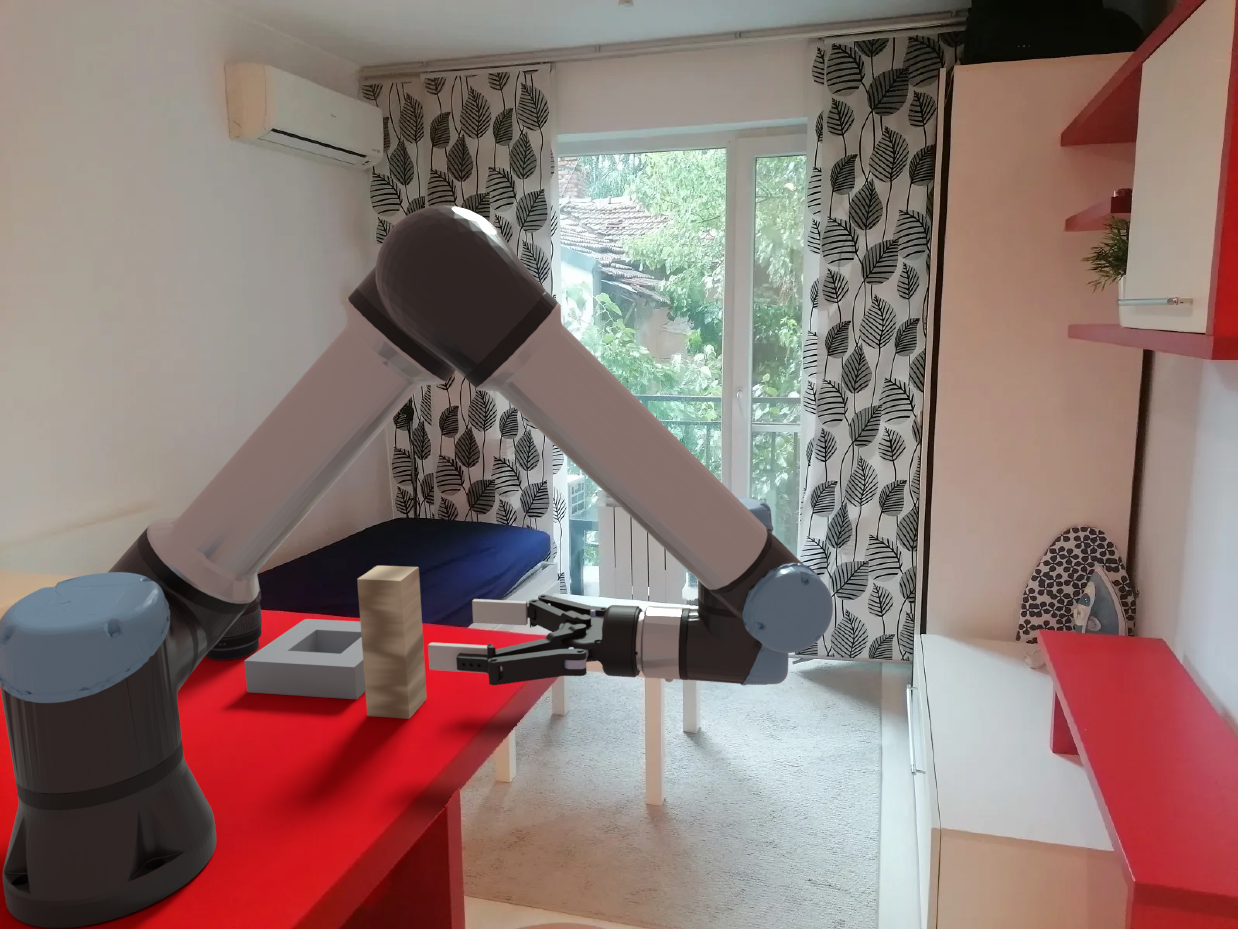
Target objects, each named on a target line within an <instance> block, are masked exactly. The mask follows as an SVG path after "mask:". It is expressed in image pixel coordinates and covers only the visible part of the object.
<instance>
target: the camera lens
mask: <svg viewBox="0 0 1238 929" xmlns="http://www.w3.org/2000/svg"><path fill="white" fill-rule="evenodd" d="M257 577H258V578H259V576H258V573H257ZM261 600H262V591H261V587H259V592H258V595H257V597H256V598H255V599H254V600H253V601H252V602H251V604H250V605H249V606H248V607H247V608H246V610H245V611H244V612H243V613H242V614H241V615H240V616H239V618H238V619H237V620H236V621H235V622H234V623H233V624H232V626H231V627H230V628H229V629H228V630H227V631H226V632H225V634H224V635H223V636H222V638H221V639H220V640H219V641H218V643H217V644H216V645H215V646H214V647H213V648H212V649H211V650H210V651H209V652H208V653H207V654H206V655H205V657H206V658H208V659H210V660H216V661H229V660H235V659H236V660H237V659H240V658H244V657H247V656H249V655H253V653H256V652H257V651H258V650H259V647H260V640H259V639H260V638H261V637H262V634H263V633H262V624H263V618H262V609H261V605H260V601H261Z"/></svg>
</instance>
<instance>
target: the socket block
mask: <svg viewBox="0 0 1238 929" xmlns="http://www.w3.org/2000/svg"><path fill="white" fill-rule="evenodd" d="M243 661H244V670H245V671H244V672H245V682H246V692H247V693H256V694H270V695H287V696H301V697H313V698H314V697H316V698H327V699H329V698H332V699H333V698H334V699H345V700H346V699H347V700H358V699H359V698H361V696H362V695H363V694H364V693H366V691H365V677H364V664H363V650H362V637H361V623H360V621H357V620H356V621H355V620H336V619H335V620H334V619H333V620H331V619H318V618H317V619H314V618H313V619H312V618H305V619H303V620H301V621H300V622H299V623H296V625H294V626H293V627H291V628H290V629H288V630H287V631H285V632H283V634H281V635H279V636H278V637H277V638H275V639H274V640H272V641H271V642H270V643H268V644H267V645H265V646H264V647H262V648H261V649H258V650H257V651H255V652H254V654H253V653H252V654H251V655H250V656H249V657H247V658H246V659H245V660H243Z"/></svg>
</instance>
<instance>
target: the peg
mask: <svg viewBox="0 0 1238 929" xmlns="http://www.w3.org/2000/svg"><path fill="white" fill-rule="evenodd" d="M419 567H420V566H399V565H376V566H373V567H372V569H370V570H367V572H366V573H364V574H363V575H361V576H359V577H358V578H357V579H356V580H357V594H358V609H359V619H360V620H359V622H360V623H361V637H362V650H363V664H364V677H365V699H366V700H365V702H366V716H367V717H378V718H379V717H381V718H392V719H393V718H395V719H405V720H406V719H410V718H412V716H413V715H414V714H415V713H416V712H417V710H419V709H420V707H421V706H422V705H423V704H424V702H426V700H427V698H428V697H427V682H426V680H427V679H426V669H425V668H426V666H425V651H424V650H425V649H424V648H425V647H424V632H423V630H424V629H423V620H422V619H423V618H422V603H421V602H422V601H421V600H422V597H421V582H420V568H419Z"/></svg>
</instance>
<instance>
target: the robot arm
mask: <svg viewBox="0 0 1238 929" xmlns="http://www.w3.org/2000/svg"><path fill="white" fill-rule="evenodd" d="M382 241H383V242H382V244H381V246H380V248H379V249H378V250H379V251H378V254H377V257H376V265H375V266H374V267H373V268H372V269H371V270H370V271H369V273H368V274H367V275H366V277H364V278H363V279H362V281H361V282H360V283H359V284H358V285H357V287H356V288H355V289H354V290H353V291H352V293H351V294H350V295H349V296H348V297H347V298H346V300H345V308H346V318H347V321H346V326H345V327H344V328H343V329H342V331H341V332H340V333H339V334H338V335H337V337H335V339H333V341H332V342H331V344H330V345H328V347H327V348H326V349H325V350H324V351H323V352H322V353H321V355H320V356H319V357H318V358H317V359H316V360H315V361H314V362H313V364H312V365H311V366H310V367H309V368H308V370H306V372H305V373H304V374H303V375H302V376H301V378H299V380H298V381H297V382H296V383H295V384H294V386H292V388H291V389H290V390H289V391H288V392H287V393H286V395H285V396H283V398H282V399H281V400H280V401H279V402H278V404H277V405H275V407H274V408H273V409H272V410H271V412H269V414H267V416H266V417H265V418H264V419H263V421H262V422H260V424H259V425H258V427H256V429H255V430H254V431H253V432H252V433H251V434H250V436H249V437H248V438H247V440H246V441H245V442H243V444H242V445H241V446H240V447H239V448H238V450H237V451H236V452H235V453H234V454H233V455H232V456H231V457H230V459H229V460H228V461H227V462H226V463H225V464H224V466H222V468H221V469H220V470H219V471H218V473H216V475H214V477H213V478H212V479H211V480H210V481H209V483H208V484H207V485H206V486H205V487H204V488H203V489H202V491H201V492H200V493H198V495H197V496H196V498H194V500H193V501H192V502H191V503H190V504H189V506H188V507H186V509H185V510H184V512H182V513H181V514H180V515H178V516H172V517H169V516H168V517H160V518H156V519H154V520H153V521H152V522H151V523H150V524H149V525H147V528H145V529H144V531H143V532H142V533H141V534H140V535H139V536H138V538H136V540H135V541H134V542H133V543H132V544H131V546H130V547H129V548H128V549H127V550H126V551H125V552H124V553H123V555H122V556H121V557H120V558H119V559H118V560H117V561H116V563H114V564H113V566H112V567H111V568H110V569H109V570H107V572H99V573H92V574H86V575H81V576H77V577H72V578H68V579H65V580H62V581H58V582H57V583H56V585H55V586H49V587H42V588H41V587H40V589H37V590H34V591H33V592H30V593H29V594H27V595H25V596H24V597H22V598H21V599H19V600H18V601H17V602H15V603H13V604H12V605H11V606H10V607H9V608H8V609H7V610H6V611H5V612H4V613H3V615H2V616H1V618H0V695H1V701H2V708H3V712H4V718H5V724H6V726H5V727H6V732H7V738H8V742H9V750H10V757H11V761H12V766H13V767H12V768H13V769H12V770H13V774H14V779H15V786H16V793H17V799H18V806H17V808H16V810H17V811H16V814H15V818H14V823H13V827H12V832H11V834H10V839H9V843H8V847H7V852H6V856H5V861H4V864H3V868H2V886H3V891H4V892H3V893H4V898H5V906H6V908H7V910H8V912H9V913H10V914H11V916H13V917H14V918H15V919H16V920H18V921H20V922H22V923H24V924H27V925H31V926H34V927H39V928H40V927H41V928H45V929H47V928H48V929H49V928H50V929H65V928H66V929H67V928H69V929H70V928H76V927H77V928H78V927H86V926H90V925H96V924H100V923H104V922H108V921H111V920H115V919H118V918H122V917H124V916H127V915H131V914H132V913H136V912H137V911H141V910H143V909H145V908H147V907H149V906H151V905H153V904H155V903H157V902H159V901H161V900H163V899H165V898H166V897H169V896H170V895H171V894H173V893H175V892H176V891H178V890H180V889H182V887H184V886H185V885H186V884H188V883H189V882H190V881H191V880H192V879H194V878H195V877H196V876H197V875H198V874H199V873H200V872H201V871H202V870H203V869H204V868H205V866H206V865H207V864H208V863H209V861H210V859H211V858H212V857H213V855H214V852H215V850H216V847H217V831H216V824H215V822H216V821H215V817H214V816H215V814H214V813H213V809H212V807H211V805H210V803H209V802H208V799H207V798H206V797H205V794H204V793H203V791H202V789H201V787H200V784H199V783H198V781H197V779H196V778H195V776H194V774H193V772H192V770H191V768H190V767H189V765H188V764H187V762H186V759H185V755H184V746H183V738H182V730H181V728H182V727H181V721H180V711H179V702H178V693H179V691H180V690H181V687H182V686H183V685H185V683H186V681H187V680H188V679H189V677H190V676H191V674H192V673H193V672H194V670H196V669H197V667H198V665H199V664H200V663H201V661H202V660H203V659H204V658H205V657H206V654H207V653H208V652H209V651H210V650H211V649H212V648H213V647H214V646H215V645H216V644H217V643H218V641H219V640H220V639H221V638H222V636H223V635H224V634H225V632H226V631H227V630H228V629H229V628H230V627H231V626H232V624H233V623H234V622H235V621H236V620H237V619H238V618H239V616H240V615H241V614H242V613H243V612H244V611H245V610H246V608H247V607H248V606H249V605H250V604H251V602H252V601H253V600H254V599H255V598H256V597H257V595H258V592H259V588H260V584H259V576H258V577H257V574H258V572H259V571H260V569H261V568H262V567H263V566H264V565H265V563H266V562H267V561H268V560H269V559H270V557H272V555H274V553H275V552H276V551H277V550H278V549H279V547H280V546H281V545H282V544H283V543H284V542H285V541H286V540H287V539H288V537H289V536H290V535H291V534H292V533H293V532H294V530H296V529H297V527H298V526H299V525H300V524H301V522H303V521H304V519H305V518H306V517H307V516H308V515H309V514H310V512H311V511H312V510H313V509H314V508H315V507H316V505H317V504H318V503H319V502H320V501H321V500H322V499H323V498H324V496H325V495H326V494H327V493H328V492H329V491H330V489H332V487H333V486H335V484H336V483H337V481H339V479H341V477H342V476H343V475H344V474H345V473H346V471H347V470H348V469H349V468H350V467H351V466H352V465H353V464H354V462H355V461H356V460H357V459H358V458H359V457H360V456H361V455H362V454H363V452H364V451H365V450H366V449H367V448H368V446H369V445H370V444H371V443H372V442H373V441H374V439H376V438H377V436H378V435H379V434H380V433H381V432H382V431H383V429H384V428H385V427H386V426H387V425H388V424H389V423H390V422H391V421H392V419H393V418H394V417H395V416H396V415H397V414H398V412H399V411H400V410H401V409H402V408H403V407H404V406H405V405H406V403H407V402H408V401H409V400H410V399H411V398H412V396H414V394H415V393H416V392H417V391H418V390H419V389H420V388H421V387H424V386H429V385H430V386H432V385H434V386H435V385H445V383H447V381H448V380H449V379H450V378H451V377H452V376H453V375H454V374H455V373H456V372H457V373H459V374H460V375H461V376H463V378H464V379H466V381H468V383H470V385H471V386H473V387H474V388H475V389H476V390H477V391H482V392H483V391H484V392H485V391H487V392H488V391H489V392H490V391H492V392H497V393H499V394H500V395H501V396H502V397H503V398H504V399H505V400H506V401H507V402H509V404H510V405H512V406H513V408H515V410H517V411H518V412H519V413H520V414H521V415H522V416H523V417H524V418H526V419H527V421H529V422H530V423H531V425H533V426H534V427H535V428H536V429H537V430H538V431H539V432H540V433H541V434H542V435H543V436H545V437H546V438H547V440H549V441H550V442H551V443H552V444H553V445H554V446H555V447H556V448H557V449H558V450H560V452H561V453H562V454H563V455H565V456H566V457H567V458H568V459H569V461H571V462H572V463H573V464H574V465H575V466H576V467H577V468H579V470H580V471H581V472H583V473H584V474H585V475H586V476H587V477H588V478H589V479H590V480H591V481H592V482H594V484H595V485H596V486H598V488H600V489H601V491H603V492H604V493H605V494H606V495H607V496H608V497H610V498H611V499H612V501H613V502H615V503H616V504H617V505H618V506H619V508H621V509H622V510H623V511H624V512H626V514H627V515H628V516H629V517H631V518H632V519H633V520H634V521H635V522H636V523H637V524H638V525H639V526H640V527H641V528H642V529H643V530H644V531H645V532H646V533H647V534H649V535H650V537H651V538H653V539H654V540H655V541H656V542H657V543H659V545H660V546H661V547H662V548H663V549H665V550H666V552H668V553H669V554H670V555H671V556H672V557H673V558H674V559H675V560H676V561H677V562H678V563H679V564H680V565H682V566H683V567H684V568H685V570H687V571H688V572H689V573H690V574H691V575H692V576H693V577H695V579H696V580H697V608H689V607H676V606H658V605H657V606H653V605H649V606H648V607H646V609H645V610H643V609H642V608H641V607H640V606H638V605H619V604H618V605H617V604H612V605H609V606H608V607H606V606H595V605H589V604H586V603H582V602H581V603H580V602H577V601H572V600H570V599H569V600H568V599H564V598H561V597H557V596H552V595H548V594H540V595H538V596H537V597H538V598H536V599H535V598H534V599H530V600H528V601H526V600H524V601H523V600H505V599H504V600H503V599H486V598H485V599H484V598H480V599H479V598H473V600H472V601H471V604H472V605H471V606H472V607H471V608H472V623H475V624H486V625H487V624H489V625H490V624H491V625H510V626H511V625H512V626H527V625H528V624H529V628H530V629H531V628H535V627H540V628H543V629H545V630H547V631H549V632H548V634H547V635H546V637H545V638H541V639H536V640H532V641H527V642H522V643H519V644H518V643H517V644H513V645H510V646H505V647H501V648H496V646H494V645H493V644H492V643H488V644H487V645H486V644H484V645H483V644H468V643H467V644H466V643H450V642H449V643H448V642H445V643H444V642H430V643H429V644H427V648H428V650H427V651H428V666H429V670H430V671H444V672H445V671H447V672H462V673H478V674H487V675H488V684H489V685H490V686H501V685H508V684H514V683H515V684H516V683H521V682H529V681H537V680H543V679H551V678H557V677H584V676H586V675H587V673H588V672H587V663H590V662H599V663H600V664H601V666H602V671H603V673H604V674H605V675H606V676H607V677H608V676H610V677H619V678H620V677H622V678H623V677H624V678H637V676H639V675H640V673H642V675H643V676H644V677H645V678H647V679H663V680H665V682H667V683H672V682H673V681H674V680H678V681H679V680H680V681H700V682H712V683H713V682H714V683H724V684H737V685H738V684H739V685H741V686H748V685H749V686H753V685H754V686H756V685H757V686H759V685H760V686H766V685H778V684H780V683H783V682H784V681H785V680H786V679H787V677H788V673H789V654H791V653H793V654H794V653H798V652H802V651H805V650H807V649H808V648H811V647H812V646H813V645H815V644H816V643H817V642H818V641H819V640H820V639H821V638H822V637H823V636H824V635H825V633H826V632H827V630H828V629H829V627H830V624H831V622H832V617H833V614H834V613H833V612H834V604H833V597H832V595H831V592H830V590H829V588H828V586H827V585H826V584H825V582H824V581H823V580H822V579H821V577H820V576H819V575H818V574H817V572H816V571H815V570H814V569H812V567H810V566H809V565H807V564H804V563H803V562H802V561H801V560H800V559H799V558H798V557H797V556H795V554H793V553H792V551H790V550H789V548H788V547H787V546H785V544H784V543H782V541H780V539H779V538H777V536H775V534H773V531H774V526H773V523H772V522H773V521H772V520H773V519H772V510H771V509H772V508H771V507H770V506H769V504H767V503H766V502H765V501H763V500H759V499H756V498H750V497H743V496H742V497H741V496H740V497H739V496H735V495H734V494H733V493H732V492H731V491H730V490H729V489H728V488H727V487H726V486H725V485H724V483H722V482H721V481H720V480H719V478H718V477H716V475H714V474H713V473H712V472H711V471H710V470H709V469H708V468H707V467H706V465H704V464H703V463H702V461H700V460H699V459H698V458H697V456H695V455H694V453H692V452H691V451H690V449H688V448H687V446H685V445H684V444H683V443H682V442H681V440H679V439H678V438H677V437H676V436H675V435H674V434H673V433H672V432H671V431H670V430H669V429H668V428H667V427H666V426H665V425H664V424H663V423H662V422H661V421H660V420H659V419H658V418H657V417H656V416H655V415H654V414H653V413H652V412H651V411H650V410H649V409H648V408H647V407H646V406H645V405H644V404H643V403H642V402H641V401H640V400H639V399H638V398H637V397H636V396H635V395H634V394H633V393H632V392H631V391H630V390H629V389H628V388H627V387H626V386H625V385H624V384H623V383H622V382H621V381H620V380H619V379H618V378H617V377H616V376H615V375H614V374H613V373H612V372H611V371H610V370H609V369H608V368H607V367H606V366H605V365H604V364H603V363H601V361H600V360H599V359H598V358H597V357H596V356H595V355H594V354H593V353H592V352H591V351H590V350H589V349H588V348H587V347H586V346H585V345H584V344H582V342H581V341H579V339H577V337H576V336H575V335H574V334H573V333H571V331H570V330H569V329H568V328H567V327H566V326H565V325H564V324H563V322H562V305H561V304H560V303H559V301H558V300H556V299H555V298H554V296H552V295H551V294H550V292H548V291H547V289H545V287H544V286H543V285H542V284H541V283H540V282H539V281H538V279H537V278H535V277H534V275H533V274H532V272H531V271H530V270H529V269H528V268H527V267H526V265H525V264H524V262H522V260H521V259H520V258H519V256H518V255H517V254H516V252H515V251H514V249H513V247H511V245H510V244H509V243H508V241H507V240H506V239H505V237H504V235H502V233H501V232H500V231H499V229H497V227H496V226H495V225H493V224H492V223H491V222H490V221H488V220H487V219H486V218H485V217H483V216H482V215H480V214H477V213H476V212H474V211H471V210H470V209H467V208H463V207H459V206H454V205H432V206H428V207H424V208H420V209H418V210H416V211H414V212H412V213H410V214H407V215H406V216H404V217H403V218H402V219H401V220H400V221H398V222H397V223H396V224H395V225H393V227H392V228H391V229H390V230H389V231H388V234H386V236H385V238H384V239H383V240H382ZM528 620H529V621H528Z"/></svg>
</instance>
